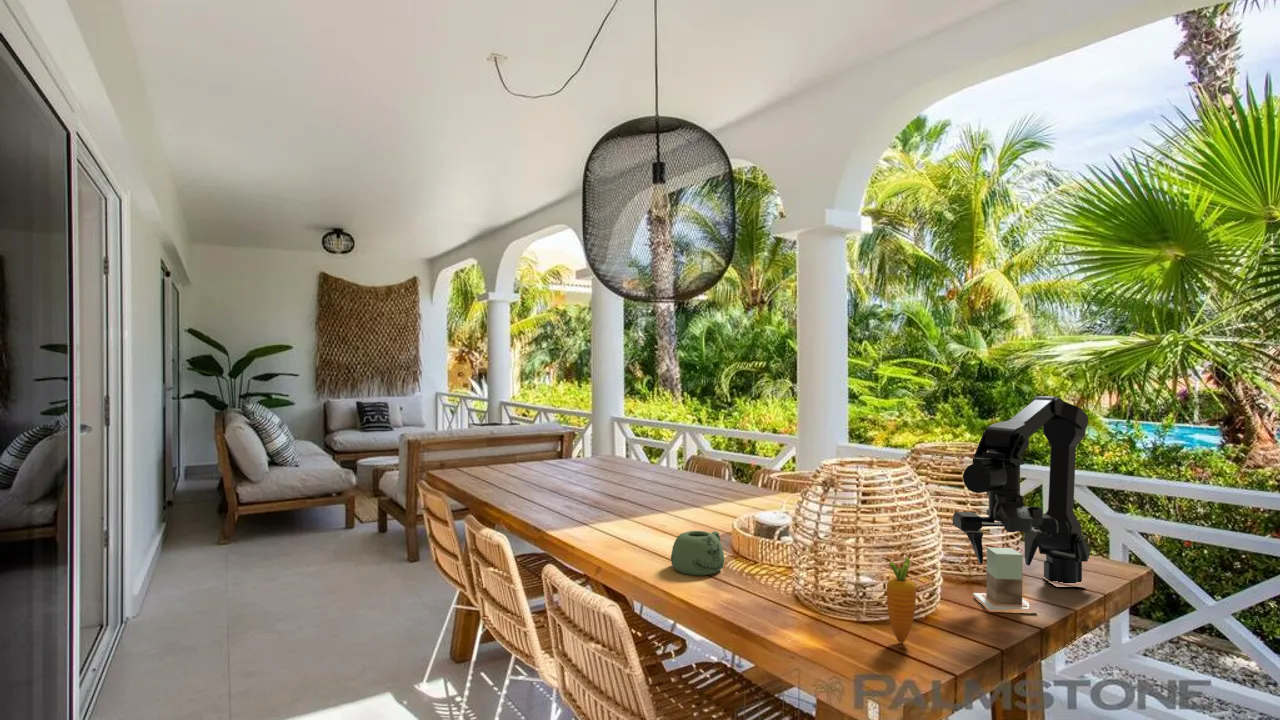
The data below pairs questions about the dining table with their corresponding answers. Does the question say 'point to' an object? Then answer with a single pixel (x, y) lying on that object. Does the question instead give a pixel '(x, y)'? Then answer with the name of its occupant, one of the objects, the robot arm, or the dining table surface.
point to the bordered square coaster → (993, 606)
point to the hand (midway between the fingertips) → (1004, 564)
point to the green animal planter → (697, 553)
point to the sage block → (1004, 563)
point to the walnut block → (1004, 590)
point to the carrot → (901, 601)
